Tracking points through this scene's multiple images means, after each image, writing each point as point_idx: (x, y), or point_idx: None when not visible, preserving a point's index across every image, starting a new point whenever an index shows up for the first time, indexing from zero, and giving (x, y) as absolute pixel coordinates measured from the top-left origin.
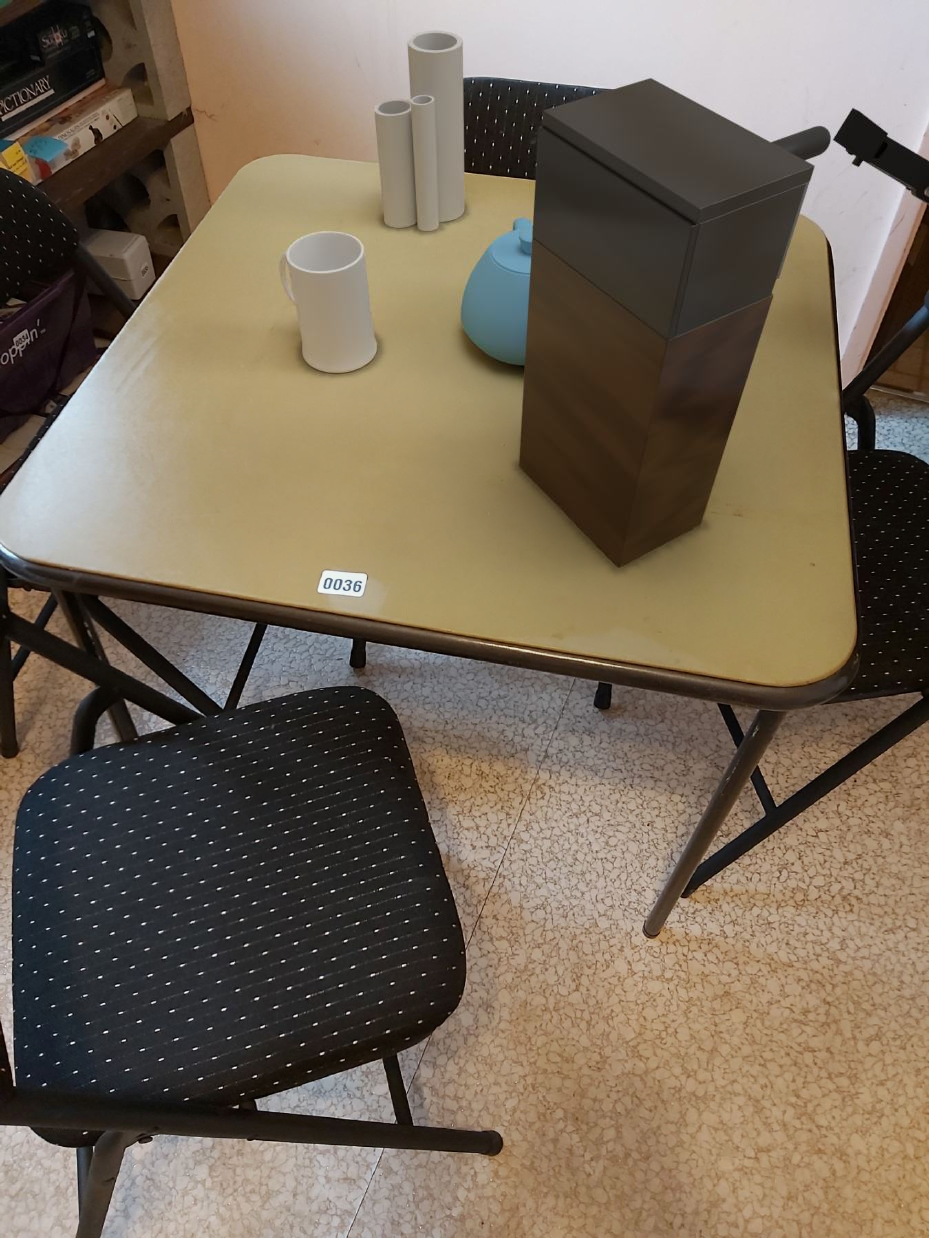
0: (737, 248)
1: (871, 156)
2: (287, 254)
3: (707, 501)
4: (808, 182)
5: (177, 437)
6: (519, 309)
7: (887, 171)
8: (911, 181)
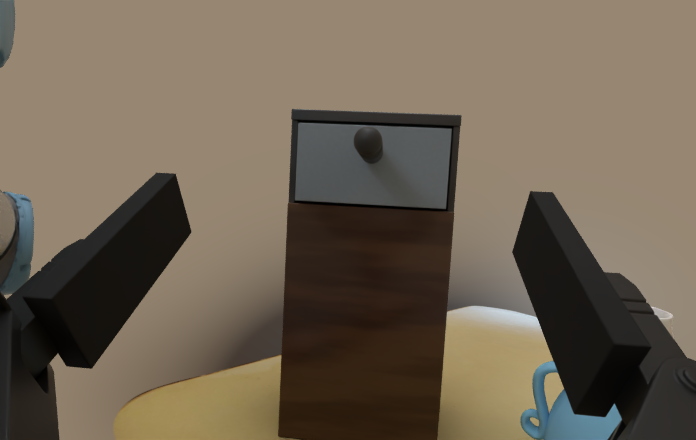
0: None
1: (575, 388)
2: None
3: (279, 406)
4: (298, 126)
5: (535, 336)
6: None
7: None
8: None
